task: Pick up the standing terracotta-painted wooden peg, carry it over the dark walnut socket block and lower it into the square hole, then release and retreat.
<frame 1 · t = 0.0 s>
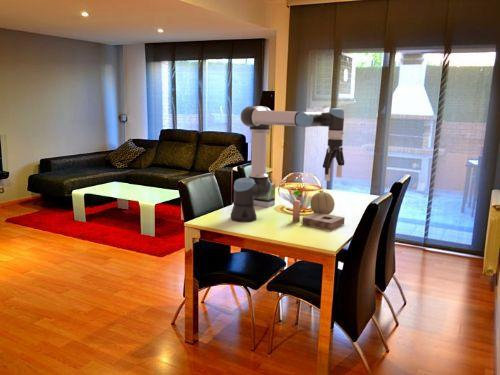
hand: (333, 179, 228), 28 cm above the table, fingers open, 13 cm apart
peg: (295, 221, 249), on the table
cantaloupe: (321, 215, 264), on the table
tea box: (261, 205, 288), on the table
socket block: (323, 224, 244), on the table
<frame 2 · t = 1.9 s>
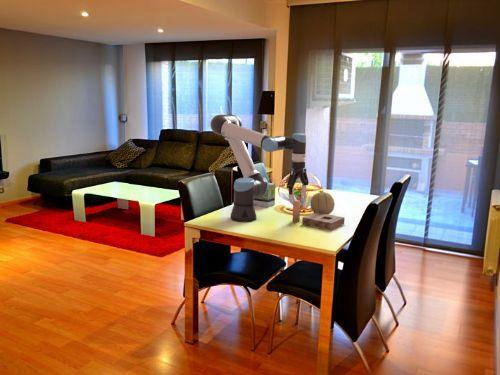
hand: (297, 198, 247), 14 cm above the table, fingers open, 13 cm apart
nothing on the table moved.
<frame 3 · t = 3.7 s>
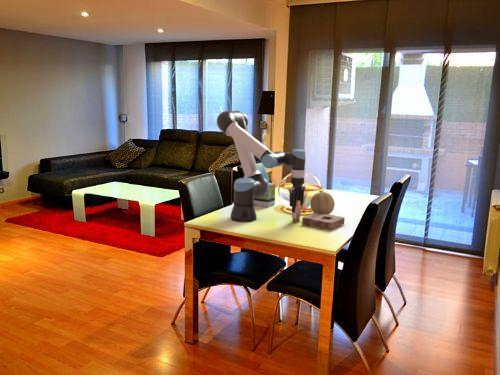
hand: (296, 216, 249), 3 cm above the table, fingers closed on peg, 4 cm apart
peg: (295, 221, 249), on the table, touching gripper
everything else where it was.
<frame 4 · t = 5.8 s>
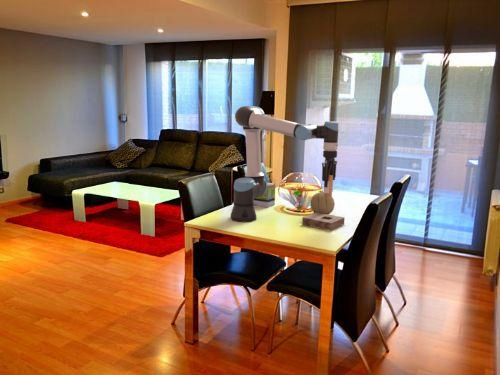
hand: (328, 192, 240), 19 cm above the table, fingers closed on peg, 4 cm apart
peg: (328, 196, 240), point 16 cm above the table, touching gripper
everything else where it was.
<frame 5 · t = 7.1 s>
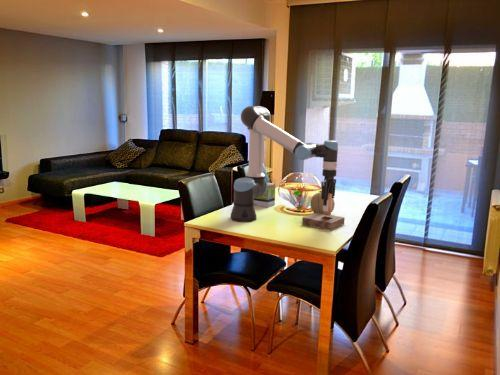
hand: (327, 210, 242), 9 cm above the table, fingers closed on peg, 4 cm apart
peg: (327, 214, 242), point 6 cm above the table, touching gripper
everything else where it was.
when the fingers open (5 cm above the table, at t = 8.0 s): peg drops 3 cm, resting in socket block.
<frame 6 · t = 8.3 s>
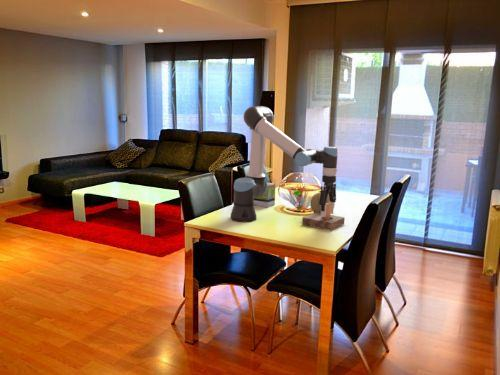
hand: (327, 214, 242), 6 cm above the table, fingers open, 8 cm apart
peg: (326, 224, 243), resting in socket block
everything else where it was.
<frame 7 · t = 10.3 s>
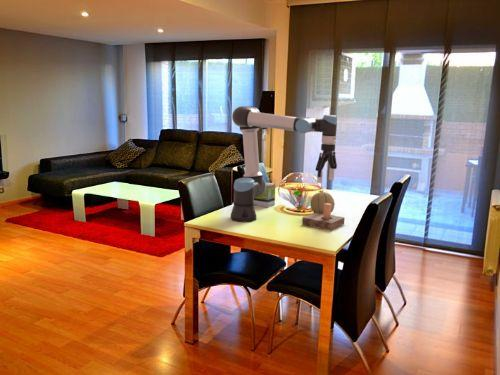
hand: (325, 181, 242), 24 cm above the table, fingers open, 13 cm apart
nothing on the table moved.
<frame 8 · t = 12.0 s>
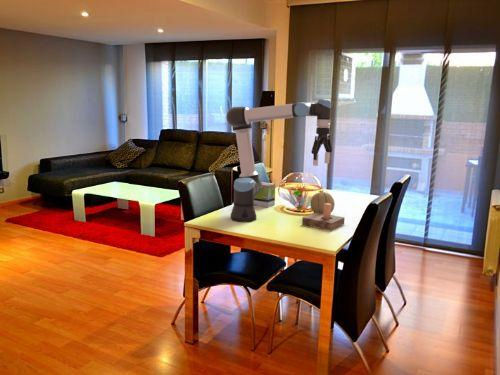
hand: (321, 164, 248), 33 cm above the table, fingers open, 13 cm apart
nothing on the table moved.
at the end: peg 0.1 cm from the target spot on the socket block, point 0.0 cm above the socket block's base; peg tilted 0°; the gripper is holding nothing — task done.
